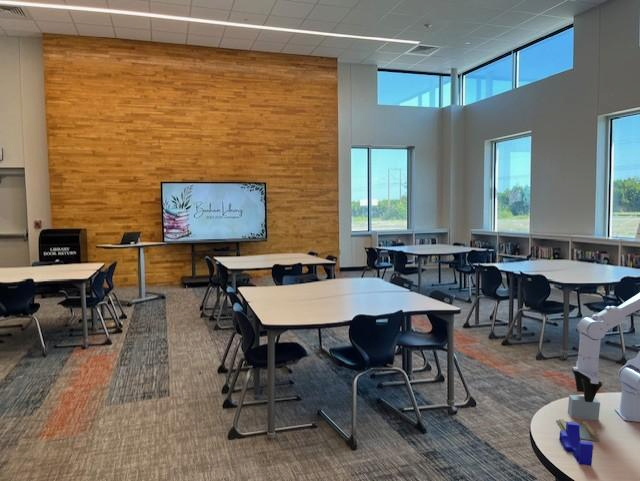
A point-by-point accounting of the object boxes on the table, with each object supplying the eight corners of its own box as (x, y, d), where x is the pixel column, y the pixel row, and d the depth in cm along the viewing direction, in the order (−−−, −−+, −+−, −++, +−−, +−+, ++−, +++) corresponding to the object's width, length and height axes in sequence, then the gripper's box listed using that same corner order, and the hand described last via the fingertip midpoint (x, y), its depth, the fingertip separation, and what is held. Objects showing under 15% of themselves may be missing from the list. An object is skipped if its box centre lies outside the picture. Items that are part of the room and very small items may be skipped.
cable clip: (559, 440, 137) (560, 421, 137) (575, 442, 136) (577, 422, 136) (573, 464, 125) (575, 442, 125) (591, 466, 125) (593, 445, 124)
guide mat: (587, 424, 146) (587, 424, 146) (599, 441, 137) (599, 440, 137) (556, 421, 148) (556, 420, 148) (565, 437, 139) (565, 436, 139)
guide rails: (586, 425, 146) (587, 422, 145) (596, 438, 138) (596, 435, 138) (559, 422, 147) (559, 419, 147) (566, 435, 139) (566, 431, 139)
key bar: (594, 415, 153) (596, 397, 152) (598, 420, 150) (600, 402, 149) (567, 412, 155) (569, 394, 154) (571, 417, 151) (572, 399, 151)
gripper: (568, 347, 158) (564, 385, 159) (582, 362, 144) (578, 404, 145) (591, 349, 156) (587, 388, 158) (607, 364, 142) (603, 407, 144)
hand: (584, 396), depth 151 cm, fingers open, 7 cm apart
